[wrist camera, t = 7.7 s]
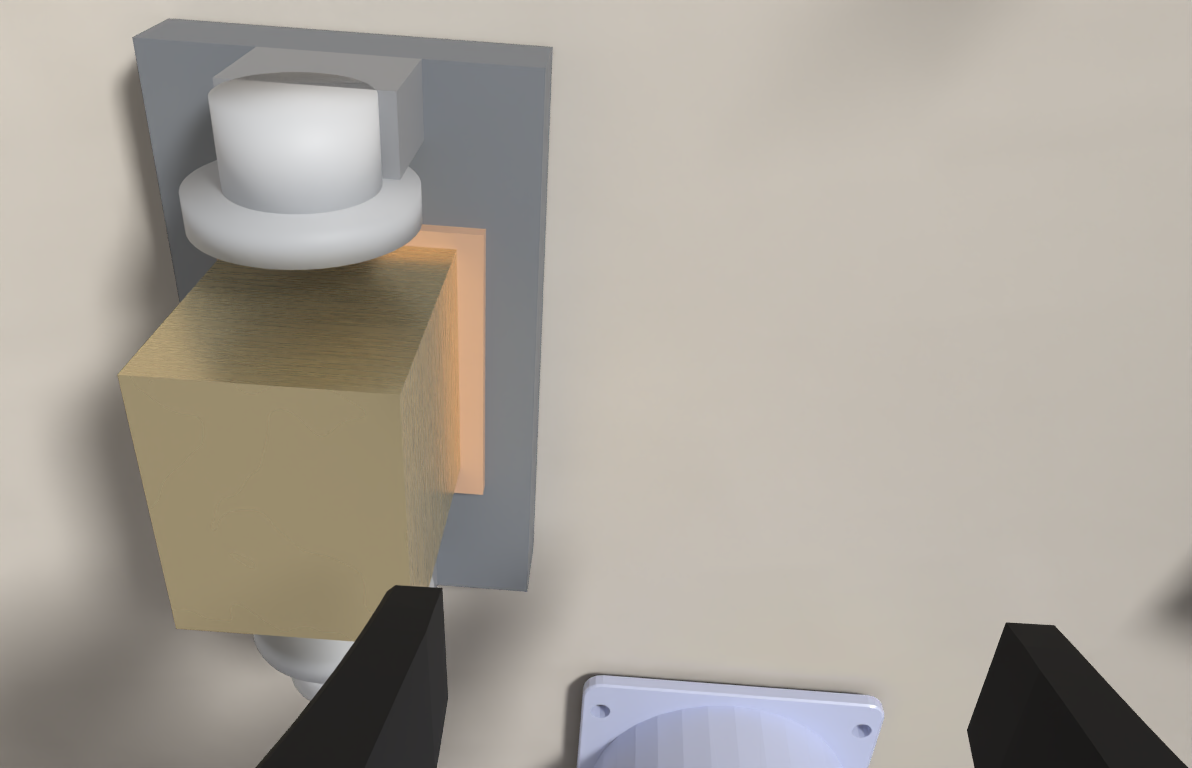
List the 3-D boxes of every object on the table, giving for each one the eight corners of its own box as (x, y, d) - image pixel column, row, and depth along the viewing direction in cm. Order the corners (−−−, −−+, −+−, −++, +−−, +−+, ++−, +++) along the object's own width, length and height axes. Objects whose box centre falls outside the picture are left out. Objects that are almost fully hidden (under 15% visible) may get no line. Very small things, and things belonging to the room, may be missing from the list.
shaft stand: (533, 548, 24) (505, 746, 19) (248, 527, 24) (149, 719, 19) (552, 47, 18) (518, 151, 13) (168, 18, 18) (-11, 112, 13)
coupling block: (460, 467, 21) (413, 645, 17) (271, 453, 21) (176, 628, 17) (456, 249, 18) (400, 395, 14) (239, 234, 18) (117, 374, 14)
